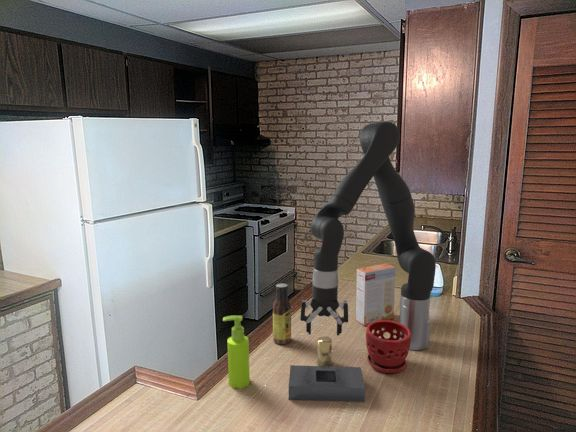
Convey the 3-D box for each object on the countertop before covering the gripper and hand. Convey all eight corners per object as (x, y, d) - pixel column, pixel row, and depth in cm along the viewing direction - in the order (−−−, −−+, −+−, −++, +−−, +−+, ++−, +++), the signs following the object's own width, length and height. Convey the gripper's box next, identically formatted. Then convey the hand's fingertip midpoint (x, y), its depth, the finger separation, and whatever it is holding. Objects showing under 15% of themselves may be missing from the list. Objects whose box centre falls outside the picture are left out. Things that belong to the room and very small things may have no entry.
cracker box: (384, 313, 163) (386, 262, 159) (394, 319, 157) (396, 267, 153) (354, 320, 157) (356, 267, 153) (364, 326, 152) (365, 272, 148)
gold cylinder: (331, 360, 129) (331, 336, 127) (331, 368, 125) (332, 343, 123) (317, 359, 129) (317, 336, 128) (317, 367, 125) (317, 343, 123)
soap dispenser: (225, 377, 120) (223, 312, 116) (249, 375, 121) (248, 311, 117) (224, 389, 114) (222, 321, 111) (249, 387, 115) (247, 320, 111)
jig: (360, 379, 118) (360, 367, 118) (364, 401, 109) (364, 388, 108) (290, 377, 120) (290, 365, 119) (288, 399, 110) (288, 385, 109)
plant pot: (356, 363, 127) (357, 327, 125) (384, 350, 135) (385, 316, 133) (390, 383, 117) (391, 344, 115) (418, 367, 125) (420, 330, 122)
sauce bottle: (289, 346, 138) (288, 289, 134) (270, 344, 139) (270, 288, 135) (292, 337, 144) (292, 282, 140) (275, 335, 145) (274, 281, 141)
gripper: (348, 279, 125) (346, 329, 128) (301, 277, 126) (300, 327, 129) (350, 288, 118) (348, 340, 121) (300, 286, 119) (299, 338, 122)
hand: (323, 333), depth 125 cm, fingers open, 8 cm apart
